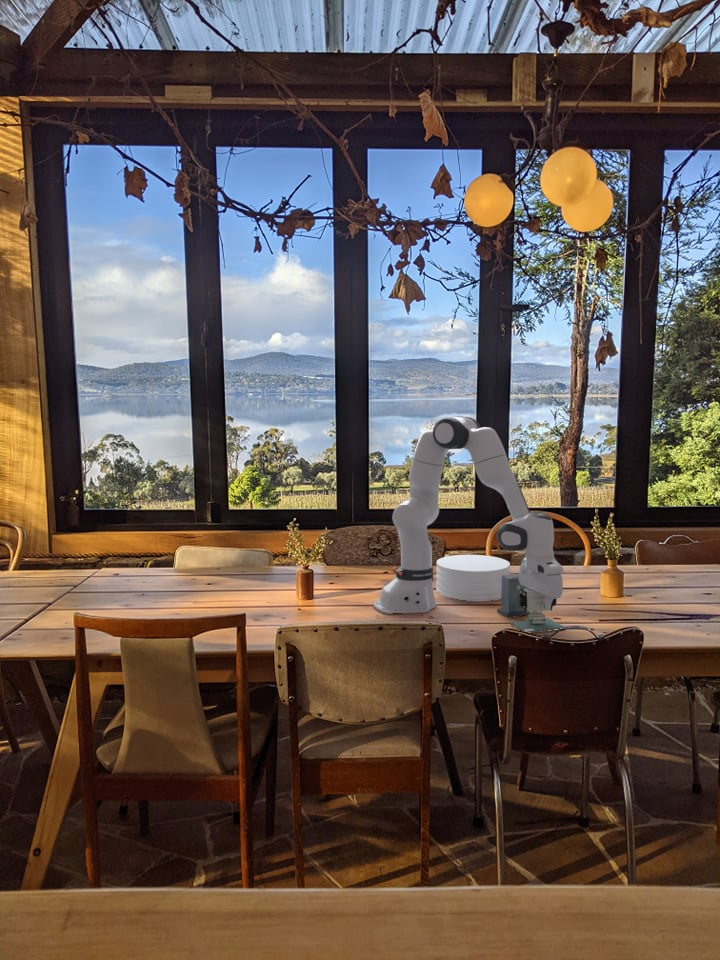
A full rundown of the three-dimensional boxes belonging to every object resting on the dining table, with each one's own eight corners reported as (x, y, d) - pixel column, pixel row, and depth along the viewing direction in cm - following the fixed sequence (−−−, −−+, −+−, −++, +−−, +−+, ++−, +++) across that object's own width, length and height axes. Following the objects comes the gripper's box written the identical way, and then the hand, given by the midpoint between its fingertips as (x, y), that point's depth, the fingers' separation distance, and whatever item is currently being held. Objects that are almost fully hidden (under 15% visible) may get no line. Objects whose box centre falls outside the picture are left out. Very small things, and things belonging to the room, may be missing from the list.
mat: (526, 634, 213) (526, 631, 213) (510, 624, 223) (510, 621, 223) (565, 629, 217) (565, 626, 217) (547, 620, 227) (547, 617, 227)
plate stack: (425, 596, 258) (425, 566, 256) (451, 579, 282) (451, 552, 281) (497, 605, 245) (498, 574, 243) (517, 587, 269) (518, 558, 268)
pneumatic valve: (516, 621, 223) (516, 585, 223) (552, 621, 223) (552, 585, 223) (521, 625, 218) (521, 588, 217) (557, 625, 218) (557, 588, 217)
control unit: (507, 618, 230) (507, 579, 228) (497, 612, 236) (497, 574, 235) (530, 615, 232) (531, 577, 231) (520, 609, 239) (520, 572, 237)
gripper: (514, 557, 226) (514, 598, 228) (548, 570, 207) (548, 615, 208) (530, 556, 228) (530, 596, 230) (566, 568, 209) (566, 612, 210)
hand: (539, 605), depth 219 cm, fingers open, 8 cm apart
